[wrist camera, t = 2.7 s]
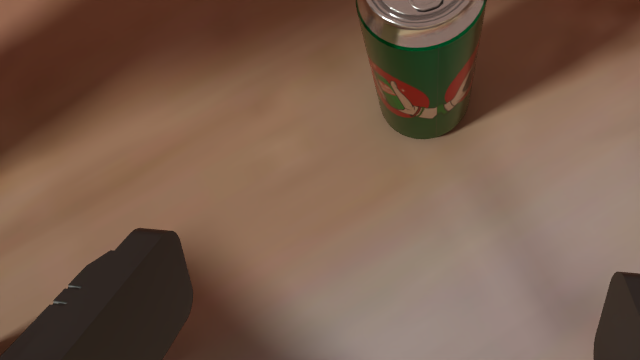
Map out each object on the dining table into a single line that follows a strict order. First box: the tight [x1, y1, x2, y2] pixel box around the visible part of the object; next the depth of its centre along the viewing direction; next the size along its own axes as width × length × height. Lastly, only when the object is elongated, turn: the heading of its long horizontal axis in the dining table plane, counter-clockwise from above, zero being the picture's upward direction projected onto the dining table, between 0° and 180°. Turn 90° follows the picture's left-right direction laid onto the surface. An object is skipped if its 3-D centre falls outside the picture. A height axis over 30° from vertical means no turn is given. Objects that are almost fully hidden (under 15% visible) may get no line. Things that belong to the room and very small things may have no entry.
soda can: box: [356, 0, 487, 139], centre depth 25 cm, size 5×5×12 cm
